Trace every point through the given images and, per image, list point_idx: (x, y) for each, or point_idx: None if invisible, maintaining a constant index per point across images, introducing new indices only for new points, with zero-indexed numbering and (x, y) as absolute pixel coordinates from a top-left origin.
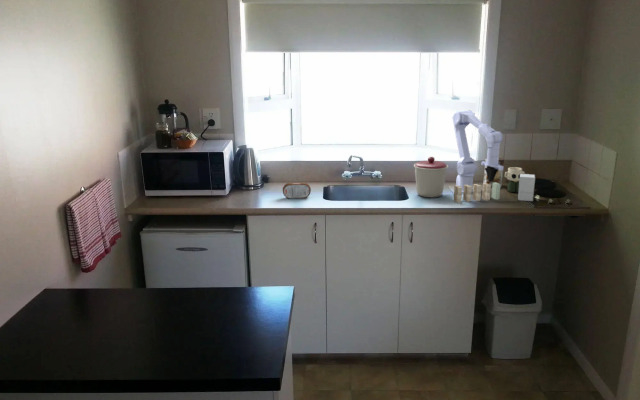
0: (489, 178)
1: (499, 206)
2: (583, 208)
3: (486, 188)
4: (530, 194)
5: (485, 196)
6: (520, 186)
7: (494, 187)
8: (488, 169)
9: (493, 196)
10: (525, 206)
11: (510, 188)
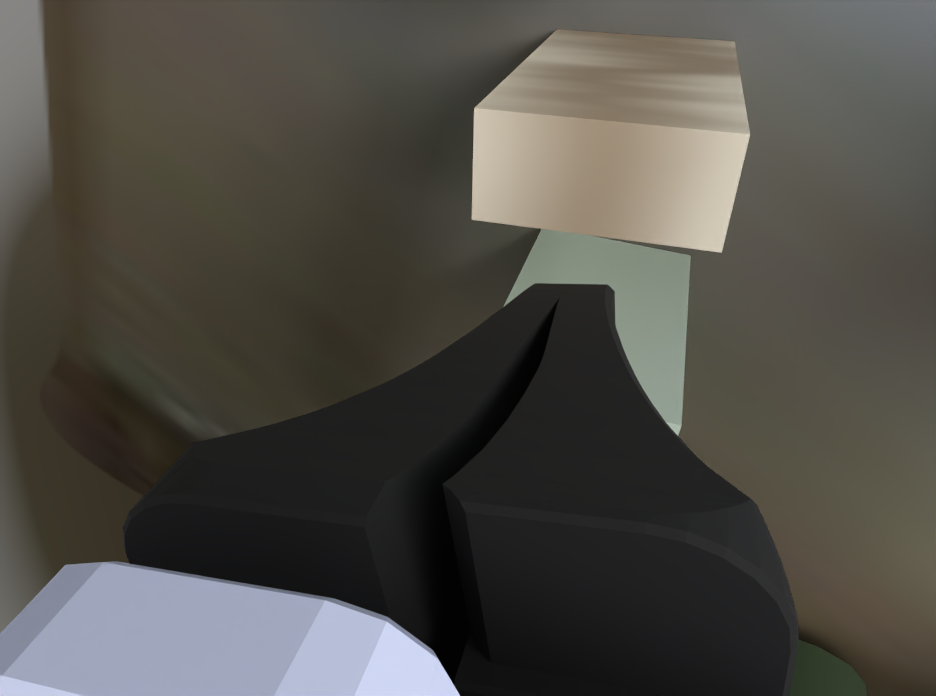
0: (523, 314)
1: (164, 5)
2: None
3: (536, 87)
4: None
5: (586, 45)
6: None
7: None
8: (321, 471)
9: (615, 254)
10: (152, 332)
11: None
